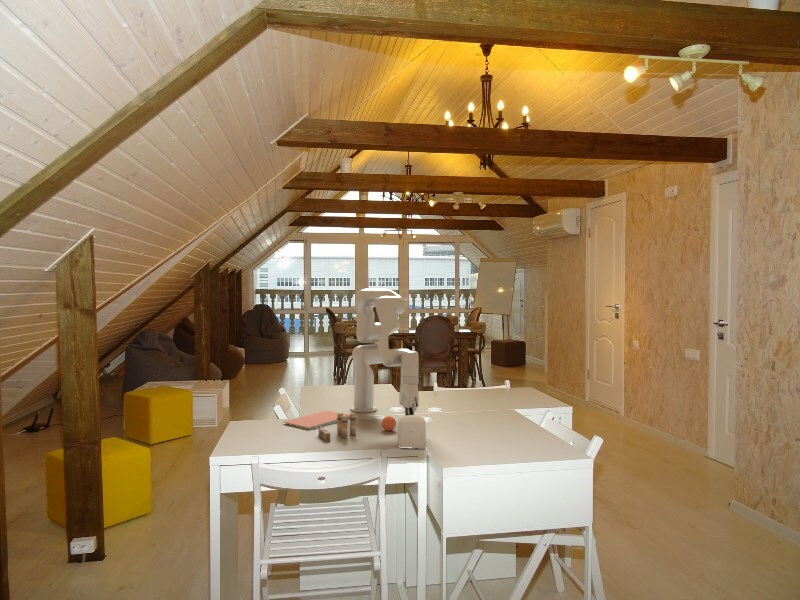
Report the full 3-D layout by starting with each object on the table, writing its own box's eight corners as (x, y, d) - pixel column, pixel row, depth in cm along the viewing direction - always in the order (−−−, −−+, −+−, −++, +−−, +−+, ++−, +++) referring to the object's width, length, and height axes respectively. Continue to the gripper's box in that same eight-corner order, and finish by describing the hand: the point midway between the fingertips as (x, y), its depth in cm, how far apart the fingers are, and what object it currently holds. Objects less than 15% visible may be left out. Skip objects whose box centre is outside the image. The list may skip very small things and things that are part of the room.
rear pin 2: (340, 437, 213) (340, 415, 213) (346, 436, 214) (346, 415, 214) (342, 438, 211) (342, 417, 211) (348, 438, 212) (348, 416, 212)
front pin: (348, 434, 218) (349, 413, 217) (354, 433, 219) (354, 412, 218) (350, 435, 215) (351, 414, 215) (356, 435, 216) (356, 414, 216)
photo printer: (398, 449, 198) (398, 416, 198) (398, 446, 202) (398, 413, 202) (425, 450, 198) (426, 416, 197) (425, 446, 202) (425, 414, 202)
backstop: (318, 435, 215) (318, 428, 215) (323, 434, 216) (323, 427, 216) (325, 441, 207) (325, 433, 207) (330, 440, 208) (330, 433, 208)
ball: (379, 429, 225) (379, 415, 225) (392, 428, 228) (392, 414, 228) (385, 433, 220) (385, 418, 220) (398, 431, 222) (398, 417, 222)
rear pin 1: (336, 433, 218) (336, 413, 218) (342, 433, 219) (342, 412, 219) (338, 435, 216) (338, 414, 215) (344, 434, 217) (344, 414, 216)
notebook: (310, 432, 222) (310, 427, 222) (283, 425, 232) (283, 421, 232) (353, 419, 244) (353, 415, 244) (326, 413, 254) (326, 409, 254)
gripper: (394, 377, 232) (394, 419, 233) (409, 383, 219) (409, 427, 219) (409, 376, 236) (409, 418, 236) (425, 381, 222) (425, 425, 222)
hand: (409, 422), depth 228 cm, fingers closed
